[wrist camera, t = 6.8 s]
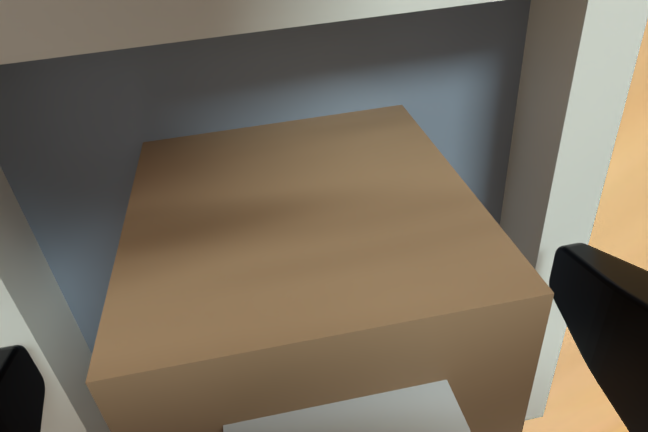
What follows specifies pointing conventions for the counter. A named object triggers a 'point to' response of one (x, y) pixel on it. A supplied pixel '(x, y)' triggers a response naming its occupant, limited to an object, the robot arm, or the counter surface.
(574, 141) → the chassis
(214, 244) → the brown block
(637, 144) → the counter surface
